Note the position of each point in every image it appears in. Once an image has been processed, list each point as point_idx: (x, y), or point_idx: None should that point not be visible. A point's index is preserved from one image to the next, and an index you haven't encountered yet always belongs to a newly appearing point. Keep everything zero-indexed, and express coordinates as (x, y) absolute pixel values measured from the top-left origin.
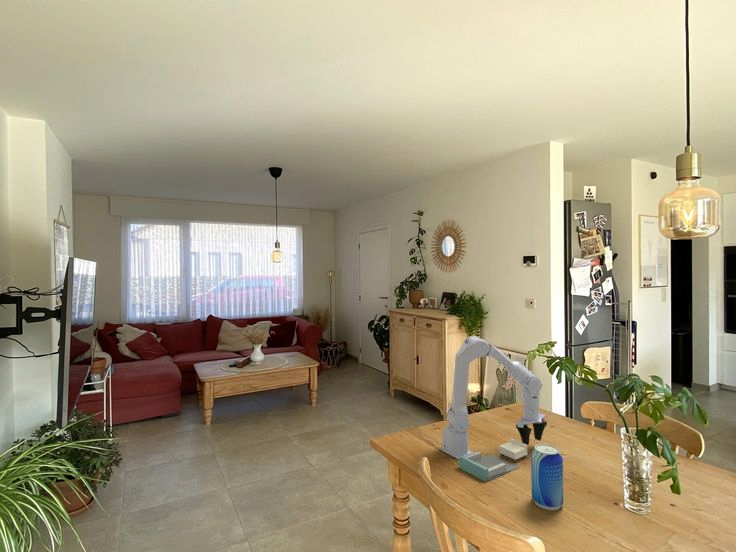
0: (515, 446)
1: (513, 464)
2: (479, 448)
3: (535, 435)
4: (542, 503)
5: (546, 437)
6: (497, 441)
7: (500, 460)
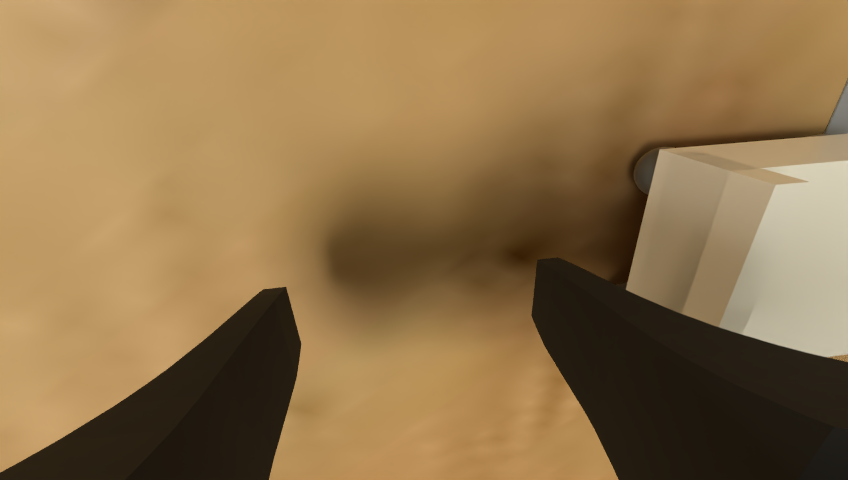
0: (776, 272)
1: (838, 125)
2: None
3: (287, 377)
4: None
5: (14, 380)
6: (507, 452)
7: None
